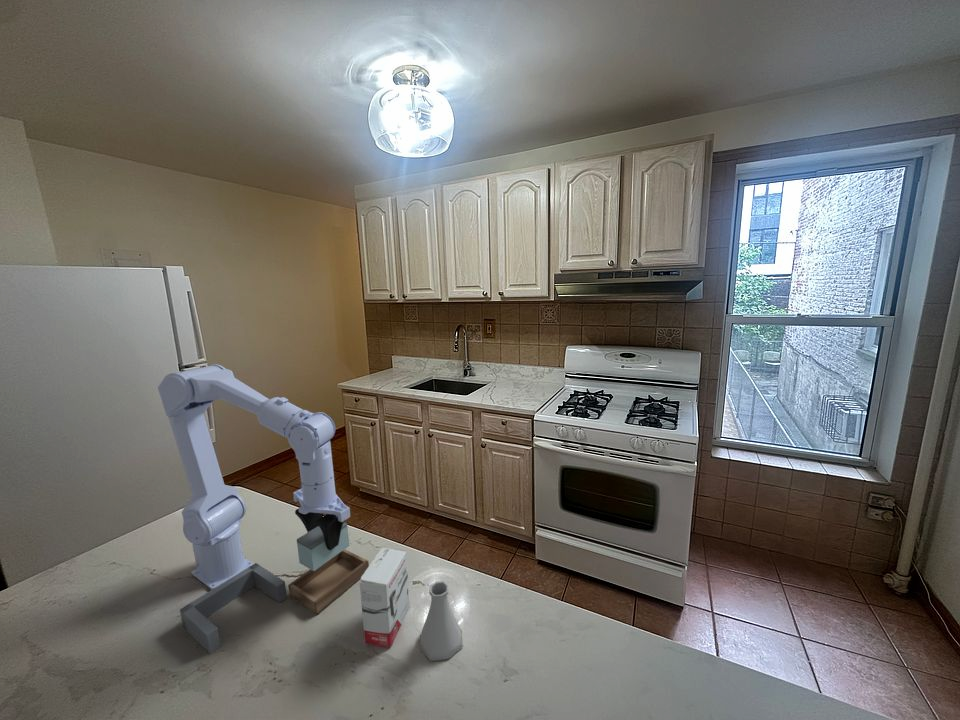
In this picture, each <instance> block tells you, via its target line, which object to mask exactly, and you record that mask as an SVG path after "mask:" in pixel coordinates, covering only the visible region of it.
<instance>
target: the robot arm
mask: <svg viewBox="0 0 960 720" xmlns="http://www.w3.org/2000/svg"><path fill="white" fill-rule="evenodd" d="M157 390H158V392H159V395H160V399H161V402H162V406H163V408H164V412H165V415H166V417H167V418H168V420H169V424H170V427H171V431H172V434H173V437H174V440H175V443H176V446H177V449H178V450H177V451H178V453H179V456H180V459H181V462H182V466H183V469H184V472H185V475H186V478H187V482H188V485H189V488H190V492H191V494H192V495H191V497H190V499H189V500H188V502H187V503H186V505H185V506H184V508H183V509H182V511H181V515H182V519H183V523H182V531H183V535H184V537H185V539H187V541H188V542H189V543H191V544H192V549H193V555H194V556H193V557H194V560H195V566H196V569H193V570H192V571H191V575H193V577H195V578H196V579H198V580H199V581H200V582H201V583H202V584H204V585H205V586H206V587H207V588H208V589H210V591H211V590H212V589H214V588H216V587H217V586H219V585H221V584H222V583H224V582H226V581H227V580H229V579H230V578H232V577H234V576H235V575H237V574H239V573H240V572H242V571H244V570H245V569H247V568H248V567H250V566H252V565H253V564H254V562H252V561H251V560H249V559H247V558H246V557H245V556H244V551H243V550H244V549H243V543H242V537H241V529H240V526H241V525H242V519H243V518H244V517H245V515H246V512H247V506H246V503H245V501H244V499H243V498H242V497H241V495H240V493H239V491H238V488H237V487H235V486H232V485H226V484H225V482H224V478H223V474H222V472H221V469H220V465H219V462H218V457H217V455H216V451H215V448H214V445H213V442H212V441H213V440H212V438H211V434H210V431H209V428H208V424H207V422H206V418H205V415H204V414H205V413H206V411H207V410H208V408H209V407H210V405H211V404H212V403H213V402H215V401H216V400H222V401H224V402H227V403H229V404H231V405H233V406H235V407H238V408H240V409H242V410H245V411H247V412H250V413H251V414H254V415H256V418H257V421H258V423H259V425H261V426H262V427H265V428H267V429H268V430H271V431H272V432H274V433H275V434H277V435H280V436H282V437H284V438H286V439H287V441H288V444H289V446H290V447H291V449H292V450H293V451H294V453H295V458H296V460H297V462H298V466H299V467H298V469H299V475H300V477H299V478H300V484H301V485H300V486H301V488H299V489H297V490H296V491H294V492H292V494H293V495H292V496H293V502H295V503H299V504H300V506H299V507H298V508H297V509H295V511H294V514H295V515H296V516H297V517H298V518H299V520H300V521H301V522H302V524H303V525H304V528H305V530H306V533H308V532H309V531H311V530H313V529H314V528H316V527H318V526H319V527H320V528H321V530H322V533H323V535H324V539H325V544H326V547H327V549H328V550H332V549H333V548H334V547H336V546H337V545H338V544H339V539H340V533H341V529H342V526H343V523H344V522H345V521H347V520H348V519H349V518H350V517H351V509H350V506H348V505H346V504H345V503H344V502H343V500H341V498H340V497H339V496H338V494H337V493H336V485H335V483H336V482H335V472H334V464H333V455H332V445H331V439H333V437H334V436H335V433H336V424H335V422H334V420H333V419H332V418H331V417H330V416H329V415H328V414H326V413H325V412H322V411H321V412H320V411H318V412H311V411H309V410H308V409H303V408H300V407H299V406H296V405H295V404H293V403H291V402H290V401H289V398H286V397H284V396H282V397H279V396H276V397H272V398H268V397H266V396H265V395H263V394H262V393H260V392H258V391H257V390H255V389H254V388H252V387H250V386H249V385H247V384H246V383H244V382H242V381H241V380H239V379H238V378H236V377H235V376H234V372H233V371H232V370H231V369H228V368H226V367H225V366H223V365H221V364H217V363H215V364H214V363H213V364H210V365H207V366H203V367H198V368H194V369H188V370H185V371H179V372H171V373H167V374H166V375H165V376H164V377H163V379H162V381H161V382H160V383H159V385H158V387H157ZM324 514H325V515H324Z"/></svg>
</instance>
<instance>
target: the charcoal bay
mask: <svg viewBox="0 0 960 720" xmlns="http://www.w3.org/2000/svg"><path fill="white" fill-rule="evenodd" d="M253 587H256V588H257V589H259V590H261V591H262V592H263V593H265V594H266V595H267V596H269V597H270V598H272V600H274V601H276V602H277V603H279V604H281V603H282V602H283V601H285V599H287V598H288V594H287V593H288V592H287V587H286V581H285V580H284V579H282V578H280V577H279V576H277V575H276V574H274V573H272V572H271V571H269V569H266V568H265V567H263V566H261V565H260V564H259V563H257V562H255V563H253V565H252V566H250V567H248V568H247V569H245V570H244V571H242V572H240V573H239V574H237V575H235V576H234V577H232V578H230V579H229V580H227V581H226V582H224V583H222V584H221V585H219V586H217V587H216V588H214V589H212V590H211V589H210V590H209V591H207V592H206V593H204V594H203V595H201V596H200V597H198V598H196V599H195V600H193V601H191V602H189V603H188V604H186V605H185V606H183V607H181V608H180V609H179V611H180V616H181V623H182V627H183V628H184V629H185V630H186V631H187V632H188V633H189V634H190V635H191V636H192V637H193V638H194V639H195V640H196V641H197V642H198V643H199V644H200V645H201V646H202V647H203V648H204V649H205V650H206V651H207V652H208V653H209V654H212V653H214V652H215V651H216V650H218V649H220V648H221V647H222V645H221V639H220V634H219V628H218V627H217V626H216V625H215V624H214V623H213V622H212V621H210V620H209V619H208V617H209V616H211V615H213V614H214V613H215V612H217V611H218V610H220V609H221V608H223V607H225V606H226V605H227V604H229V603H231V602H232V601H234V600H235V599H237V598H238V597H240V596H241V595H243V594H245V592H247V591H249V590H251V589H252V588H253ZM224 605H225V606H224Z"/></svg>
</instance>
